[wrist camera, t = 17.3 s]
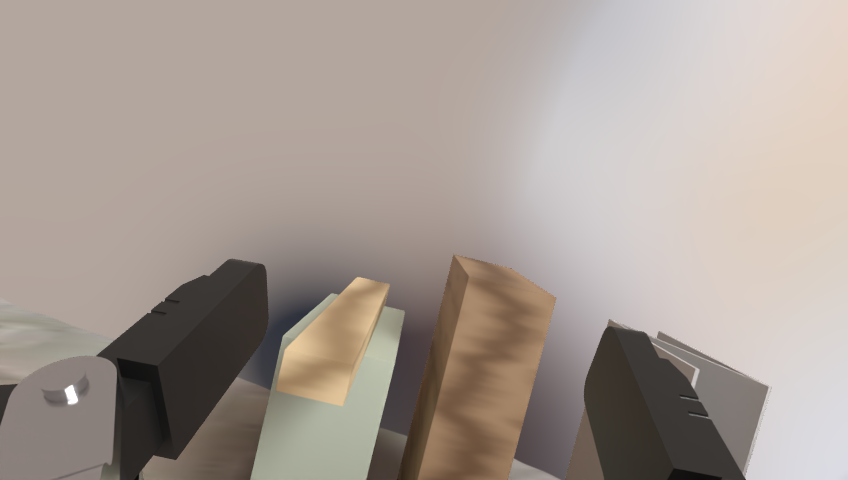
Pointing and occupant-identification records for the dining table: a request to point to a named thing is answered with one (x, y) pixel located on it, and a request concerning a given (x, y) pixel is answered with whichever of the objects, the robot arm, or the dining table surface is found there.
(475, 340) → the tall wooden block
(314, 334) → the oak strip
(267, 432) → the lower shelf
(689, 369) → the grey tall block
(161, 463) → the dining table surface
